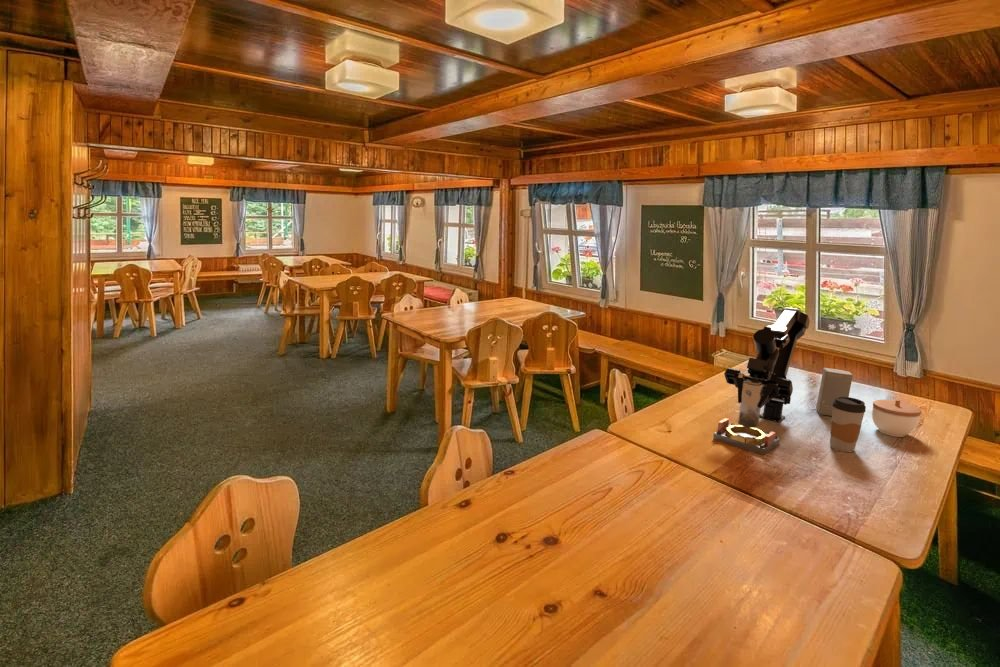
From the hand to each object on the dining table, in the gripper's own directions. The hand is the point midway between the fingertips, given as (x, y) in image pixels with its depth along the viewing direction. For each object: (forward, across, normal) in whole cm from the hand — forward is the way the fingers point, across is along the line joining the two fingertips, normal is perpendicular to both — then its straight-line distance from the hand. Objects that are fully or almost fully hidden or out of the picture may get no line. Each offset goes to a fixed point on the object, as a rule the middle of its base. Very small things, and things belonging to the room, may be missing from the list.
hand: (749, 404), depth 160 cm
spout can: (+5, 0, +5) cm, 7 cm away
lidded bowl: (-22, +33, +39) cm, 55 cm away
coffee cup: (-3, +23, +21) cm, 31 cm away
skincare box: (-26, +14, +43) cm, 52 cm away
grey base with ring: (+8, 0, +10) cm, 12 cm away
